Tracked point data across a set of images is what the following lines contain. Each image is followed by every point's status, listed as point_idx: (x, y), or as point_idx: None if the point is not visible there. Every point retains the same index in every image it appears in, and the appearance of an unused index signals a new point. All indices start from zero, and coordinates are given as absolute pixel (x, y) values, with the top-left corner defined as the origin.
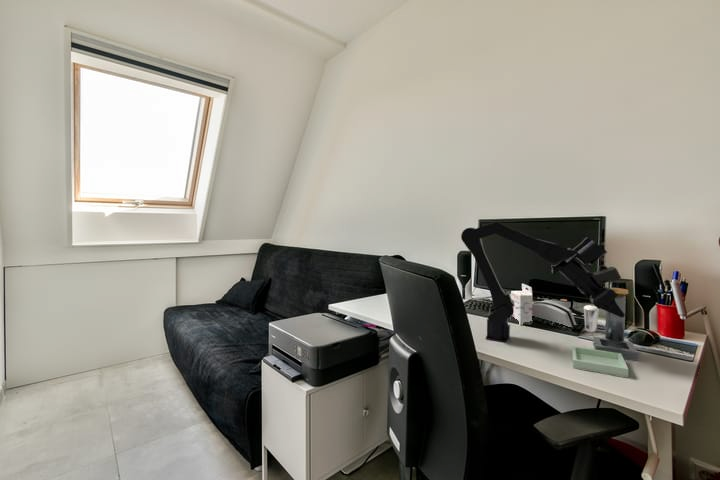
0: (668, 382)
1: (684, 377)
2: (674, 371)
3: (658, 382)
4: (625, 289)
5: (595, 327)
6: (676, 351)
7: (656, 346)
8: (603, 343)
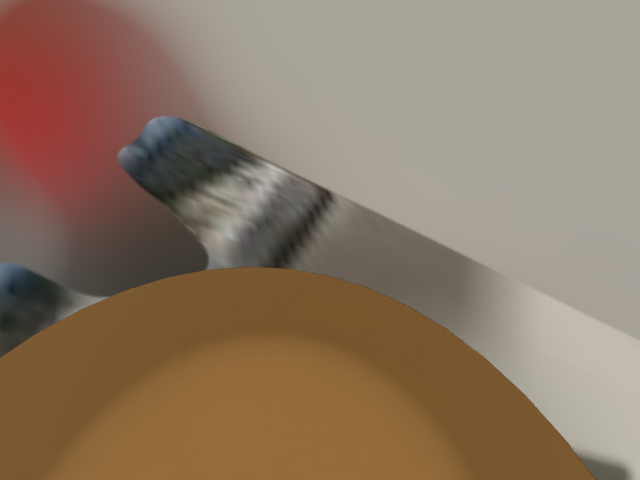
0: (575, 353)
1: (493, 280)
2: (450, 284)
3: (599, 390)
4: (198, 300)
5: None
6: (243, 189)
7: (199, 222)
8: None
